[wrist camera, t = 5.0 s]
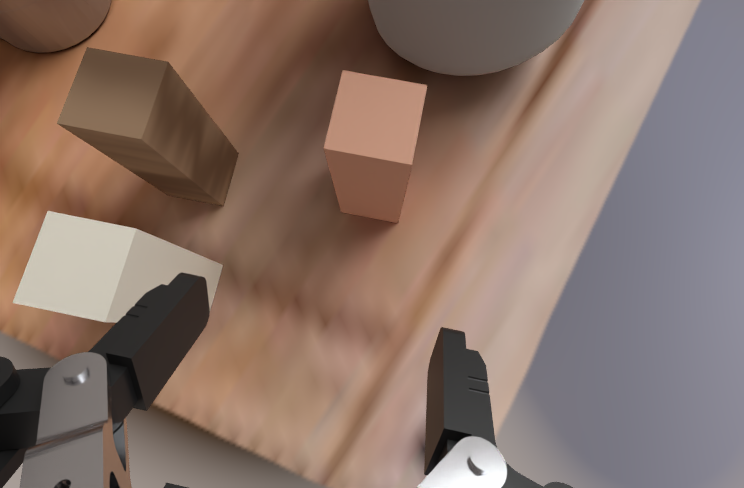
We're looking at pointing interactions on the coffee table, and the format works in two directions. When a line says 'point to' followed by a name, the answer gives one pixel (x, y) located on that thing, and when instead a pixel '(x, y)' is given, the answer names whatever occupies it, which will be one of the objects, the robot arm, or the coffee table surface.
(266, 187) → the coffee table surface
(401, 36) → the jar
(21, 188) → the coffee table surface
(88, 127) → the walnut pillar
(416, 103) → the terracotta pillar
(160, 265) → the cream pillar
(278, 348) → the coffee table surface
